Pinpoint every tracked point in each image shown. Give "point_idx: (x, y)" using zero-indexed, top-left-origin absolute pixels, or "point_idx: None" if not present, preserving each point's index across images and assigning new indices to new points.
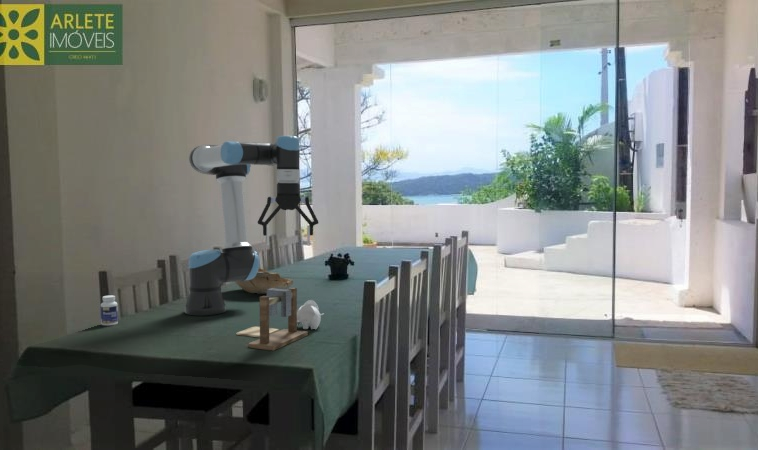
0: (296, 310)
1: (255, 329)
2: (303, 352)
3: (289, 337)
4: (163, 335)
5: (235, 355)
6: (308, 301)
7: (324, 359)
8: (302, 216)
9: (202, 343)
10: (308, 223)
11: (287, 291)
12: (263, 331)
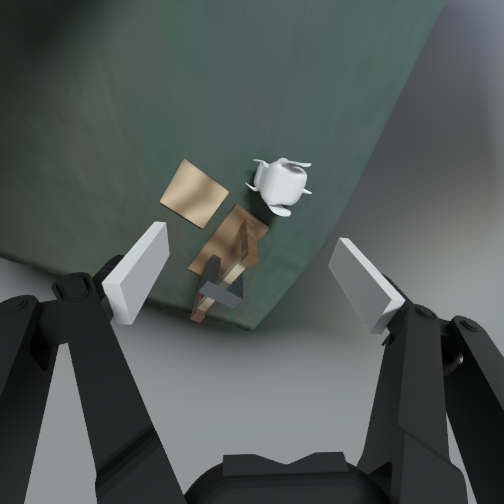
0: (255, 238)
1: (188, 185)
2: (250, 291)
3: (239, 253)
4: (32, 178)
5: (178, 289)
6: (293, 163)
7: (266, 312)
8: (375, 398)
9: (122, 238)
10: (385, 347)
11: (235, 305)
12: None
